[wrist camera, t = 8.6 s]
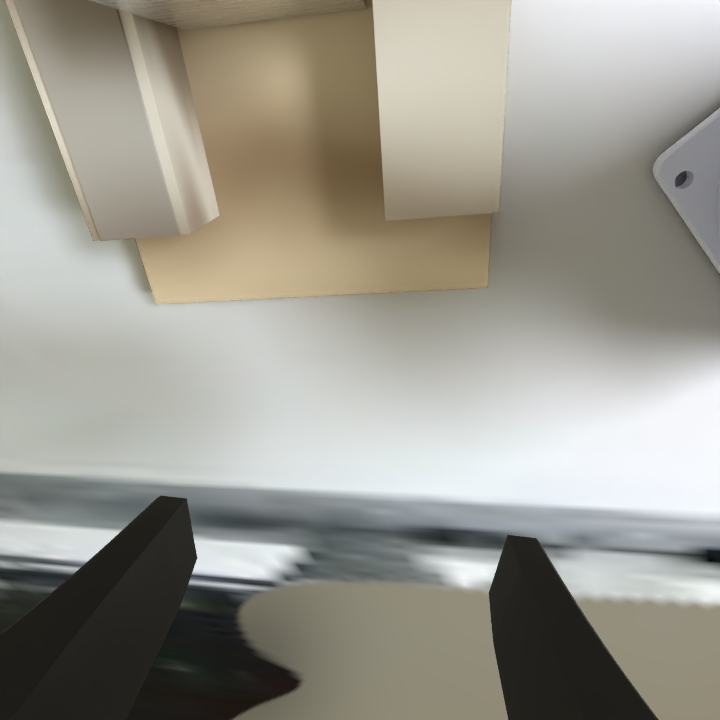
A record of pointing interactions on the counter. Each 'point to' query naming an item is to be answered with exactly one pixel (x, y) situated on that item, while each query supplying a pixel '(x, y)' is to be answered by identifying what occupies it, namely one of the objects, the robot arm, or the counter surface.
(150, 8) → the grey box
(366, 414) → the counter surface
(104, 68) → the stand
